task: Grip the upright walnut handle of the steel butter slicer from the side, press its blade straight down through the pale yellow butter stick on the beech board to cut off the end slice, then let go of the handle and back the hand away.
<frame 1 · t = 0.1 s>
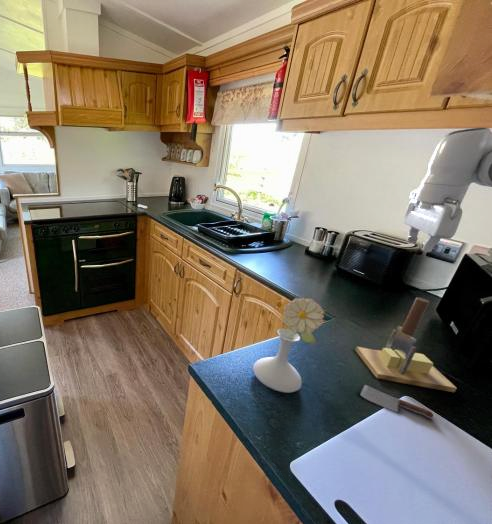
hand: (417, 246, 80), 33 cm above the countertop, tool pointing down, fingers open, 8 cm apart
butter slice: (386, 362, 81), point 1 cm above the countertop, touching butter board
butter block: (408, 366, 80), point 1 cm above the countertop, touching butter board
cleaver: (394, 406, 68), on the countertop
knife: (410, 326, 76), point 14 cm above the countertop, slide at 0.0 cm
butter board: (400, 369, 81), on the countertop
flower in vase: (277, 382, 73), on the countertop
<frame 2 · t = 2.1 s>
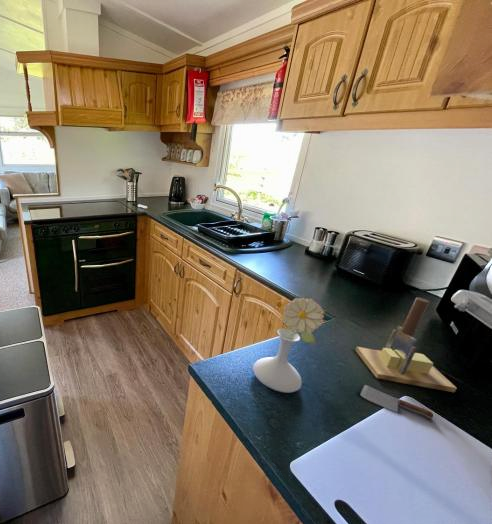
hand: (478, 320, 68), 20 cm above the countertop, tool horizontal, fingers open, 8 cm apart
nothing on the countertop moved.
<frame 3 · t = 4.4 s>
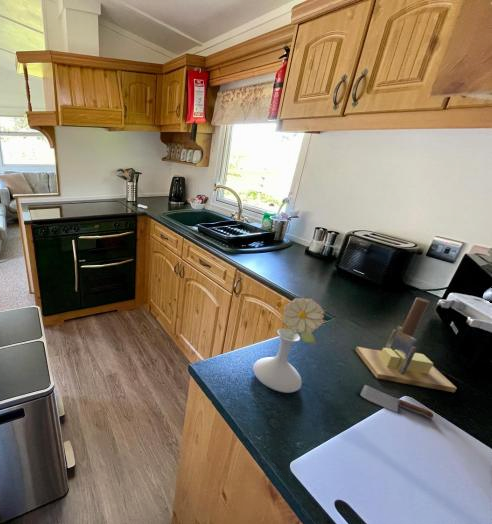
hand: (453, 311, 73), 20 cm above the countertop, tool horizontal, fingers open, 8 cm apart
nothing on the countertop moved.
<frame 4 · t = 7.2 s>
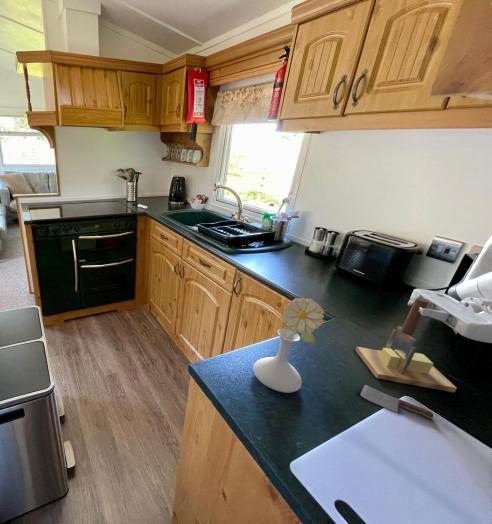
hand: (415, 306, 74), 20 cm above the countertop, tool horizontal, fingers closed on knife, 2 cm apart
knife: (410, 326, 76), point 14 cm above the countertop, slide at 0.0 cm, touching gripper
everything else where it was.
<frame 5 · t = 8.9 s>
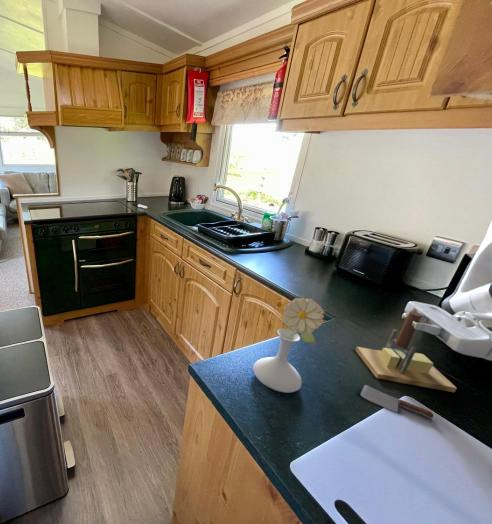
hand: (408, 320, 76), 15 cm above the countertop, tool horizontal, fingers closed on knife, 2 cm apart
knife: (404, 339, 78), point 10 cm above the countertop, slide at -4.1 cm, touching gripper
everything else where it was.
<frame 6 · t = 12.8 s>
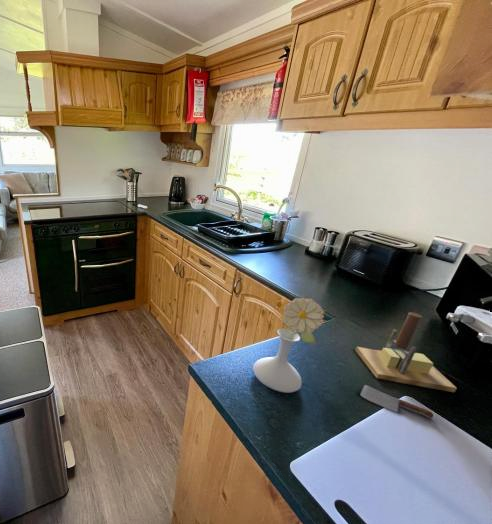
hand: (463, 326, 73), 16 cm above the countertop, tool horizontal, fingers open, 8 cm apart
knife: (403, 340, 78), point 9 cm above the countertop, slide at -4.4 cm
everything else where it was.
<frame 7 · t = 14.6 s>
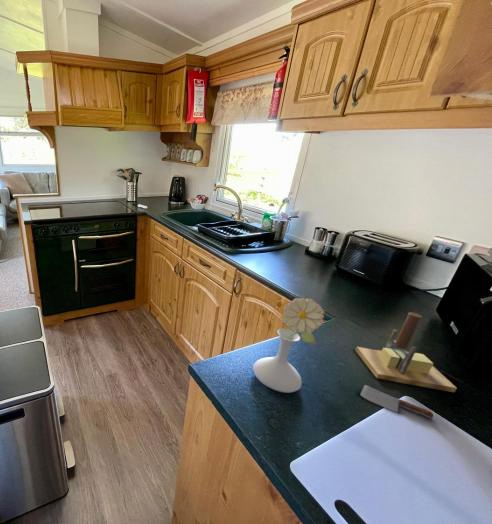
nothing on the countertop moved.
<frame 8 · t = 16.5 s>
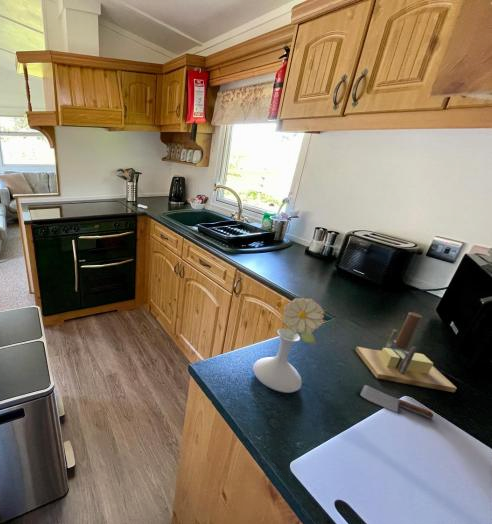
nothing on the countertop moved.
at the end: knife pushed in 4.5 cm at the most during the clip, back to 4.4 cm at the end; the gripper is holding nothing; butter slice tilted 0° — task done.
